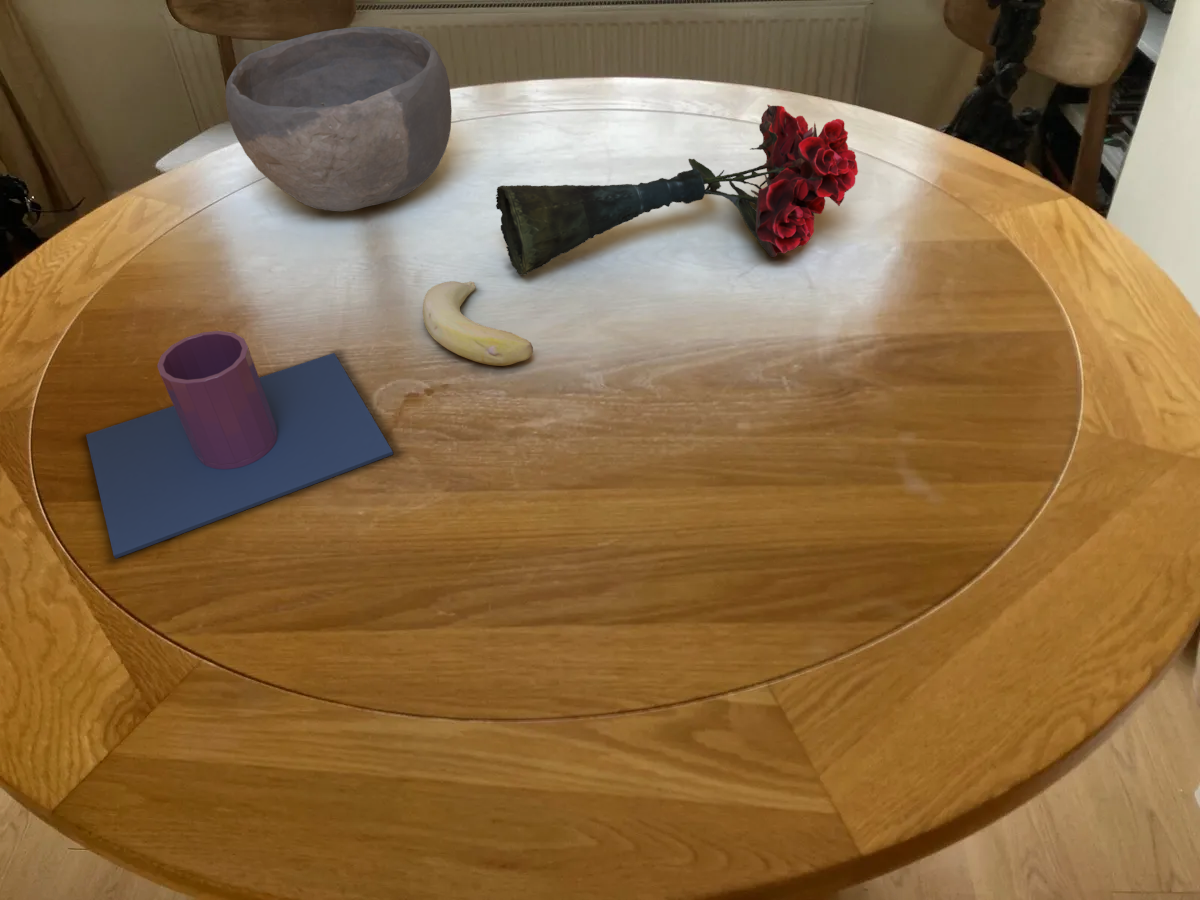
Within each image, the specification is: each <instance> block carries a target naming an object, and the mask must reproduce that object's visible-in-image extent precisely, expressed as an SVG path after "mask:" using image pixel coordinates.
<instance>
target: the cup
mask: <svg viewBox="0 0 1200 900" xmlns="http://www.w3.org/2000/svg"><path fill="white" fill-rule="evenodd" d="M156 366H157V370H158V372H159V376H160V378H161V381H162V383H163V385H164V387H165V389H166V391H167V393H168V396H169V398H170V400H171V403H172V406H174V407H175V409H176V412H177V414H178V416H179V418H180V421H181V423H182V425H183V427H184V430H185V432H186V434H187V436H188V439H189V441H190V443H191V446H192V448H193V450H194V452H195V455H196V456H197V458H198V460H199V461H200V462H201V463H203V464H204V465H206V466H208V467H210V468H214V469H234V468H239V467H243V466H246V465H249V464H251V463H253V462H255V461H257V460H259V459H260V458H262V457H263V456H265V455H266V454H267V453H268V452H269V451H270V450H271V449H272V448H273V446H274V445H275V443H276V440H277V436H278V432H277V428H276V424H275V421H274V419H273V416H272V413H271V410H270V407H269V405H268V402H267V399H266V396H265V393H264V390H263V388H262V385H261V382H260V379H259V377H260V376H259V374H258V370H257V368H256V366H255V363H254V360H253V357H252V354H251V352H250V349H249V345H248V344H247V342H246V339H245V338H243V336H240V335H238V334H237V333H235V332H231V331H226V330H225V331H224V330H212V331H203V332H199V333H195V334H193V335H189V336H186V337H184V338H182V339H180V340H178V341H177V342H174V343H173V344H171V345H169V347H168V348H167V349H166V350H164V352H163V353H161V355H160V357H159V359H158V363H157V365H156Z"/></svg>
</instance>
